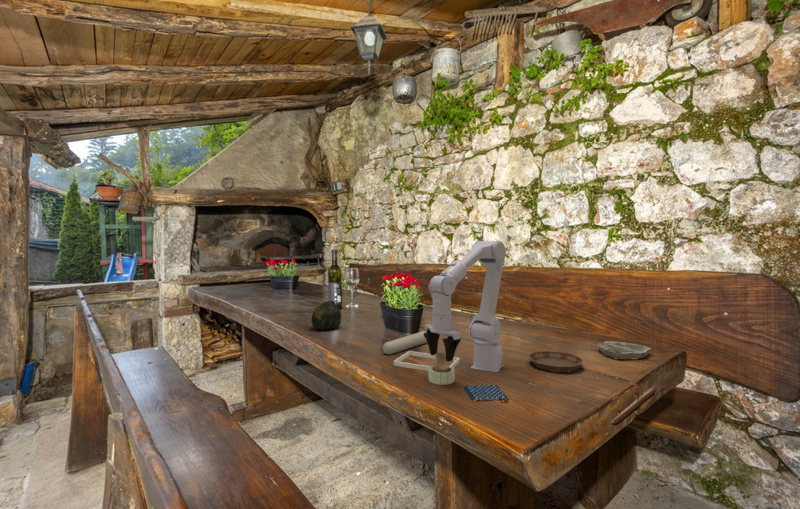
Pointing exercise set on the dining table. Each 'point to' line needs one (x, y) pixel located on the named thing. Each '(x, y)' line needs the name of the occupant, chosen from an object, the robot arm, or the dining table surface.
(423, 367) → the beige rectangular frame
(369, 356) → the dining table surface
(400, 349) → the tube
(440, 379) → the pale green short ring
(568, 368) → the plant saucer
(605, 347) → the grey stone slab
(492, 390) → the woven mat
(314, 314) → the squash
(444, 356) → the dowel pin
